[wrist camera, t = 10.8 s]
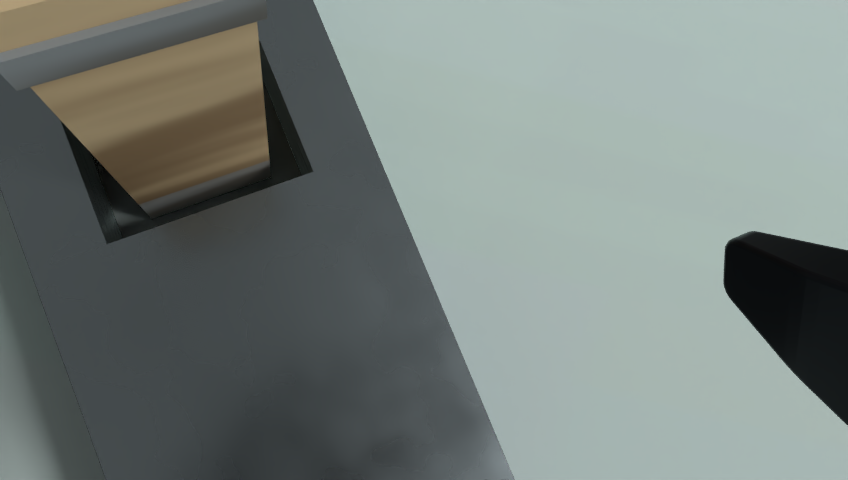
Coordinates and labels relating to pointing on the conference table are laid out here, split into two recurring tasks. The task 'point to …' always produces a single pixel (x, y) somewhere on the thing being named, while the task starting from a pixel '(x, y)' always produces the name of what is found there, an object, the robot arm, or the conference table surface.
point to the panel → (251, 303)
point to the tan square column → (149, 89)
